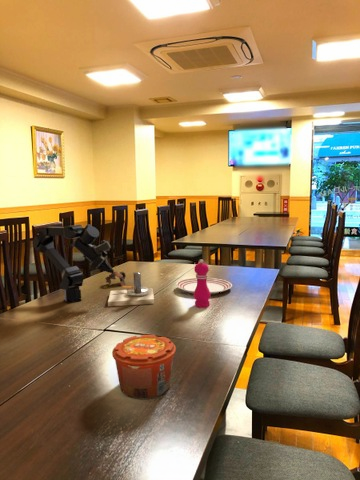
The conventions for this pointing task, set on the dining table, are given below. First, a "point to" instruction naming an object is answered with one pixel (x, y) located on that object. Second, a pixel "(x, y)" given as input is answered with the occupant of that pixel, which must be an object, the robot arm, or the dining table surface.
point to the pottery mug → (112, 276)
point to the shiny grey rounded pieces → (137, 287)
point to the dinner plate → (212, 284)
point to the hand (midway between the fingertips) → (113, 272)
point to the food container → (144, 365)
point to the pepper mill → (202, 285)
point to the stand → (129, 298)
